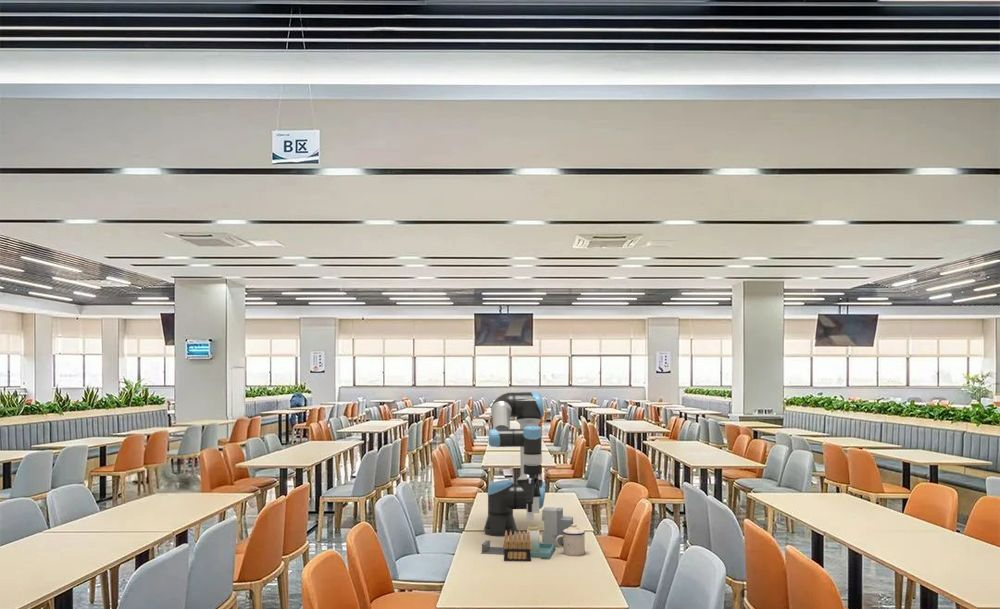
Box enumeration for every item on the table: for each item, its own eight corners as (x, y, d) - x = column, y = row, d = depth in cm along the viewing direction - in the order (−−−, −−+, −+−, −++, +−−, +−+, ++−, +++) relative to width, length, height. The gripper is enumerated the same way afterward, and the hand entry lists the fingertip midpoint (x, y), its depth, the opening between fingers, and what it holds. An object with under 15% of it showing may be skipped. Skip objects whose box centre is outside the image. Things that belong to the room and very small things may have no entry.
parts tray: (518, 548, 316) (518, 542, 316) (555, 549, 313) (555, 543, 313) (511, 557, 301) (510, 551, 301) (549, 559, 297) (549, 553, 298)
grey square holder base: (487, 547, 317) (487, 539, 317) (512, 548, 315) (512, 540, 315) (480, 554, 305) (480, 545, 306) (506, 555, 303) (506, 547, 303)
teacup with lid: (583, 550, 312) (583, 521, 312) (586, 555, 302) (586, 526, 303) (554, 550, 311) (554, 522, 312) (557, 556, 302) (556, 526, 303)
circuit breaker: (575, 547, 316) (575, 511, 318) (542, 546, 319) (541, 510, 320) (577, 543, 324) (576, 508, 325) (544, 542, 327) (544, 507, 328)
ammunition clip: (531, 561, 295) (530, 530, 296) (530, 562, 293) (530, 531, 294) (504, 560, 296) (503, 529, 297) (503, 562, 294) (503, 530, 295)
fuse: (528, 549, 310) (528, 525, 311) (540, 550, 309) (540, 525, 310) (526, 552, 305) (526, 527, 306) (538, 553, 304) (538, 528, 305)
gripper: (529, 459, 323) (529, 509, 321) (518, 468, 298) (518, 522, 297) (546, 460, 321) (546, 510, 320) (536, 469, 297) (537, 523, 295)
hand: (533, 516), depth 308 cm, fingers open, 13 cm apart
